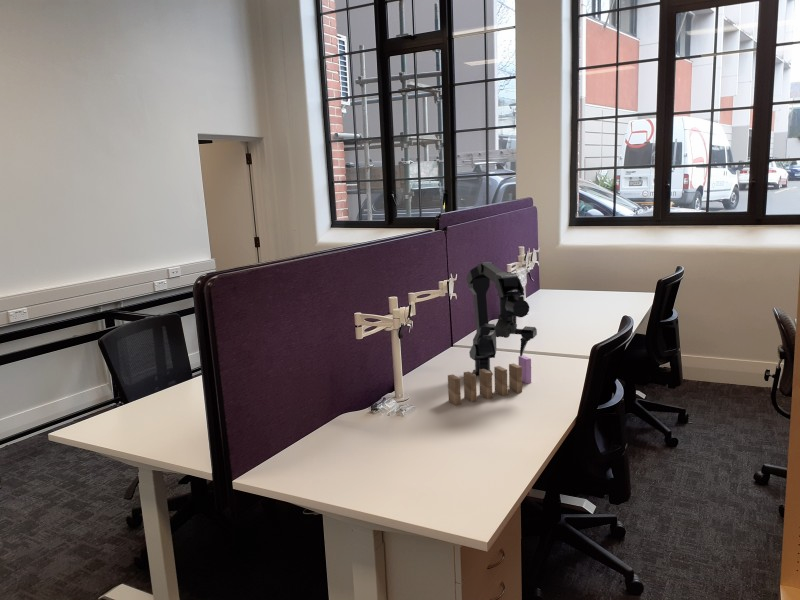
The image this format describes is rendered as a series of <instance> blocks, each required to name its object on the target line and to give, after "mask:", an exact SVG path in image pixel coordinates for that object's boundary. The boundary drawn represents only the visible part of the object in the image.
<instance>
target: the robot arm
mask: <svg viewBox="0 0 800 600" xmlns="http://www.w3.org/2000/svg"><path fill="white" fill-rule="evenodd" d="M491 281H492V282H493V283H494V288H495V289H496V290H497V292H498V293H497V296H498V297H499V298H498V305H499V306H498V309H499V310H498V312H499V313H498V317H497V322H496V324H495V323H490V322H489V310H488V300H487V293H488V291H489V289H490V287H491ZM466 282H467V284H468V289H469V290H470V292H471V293H472V295H473V304H474V305H473V307H474V315H475V316H474V317H475V330H476V333H475V335H474V337H473V338H472V346H471V347H470V350H469V358H470V359H472V360H473V361H474V369H473V370H472V372H473V374H474V375H476V377H479V370H480V369H486V370H488V371H490V372H492V370H491V359H493V358H494V359H495V358H496V354H497V338H506V339H508V338H509V337H510V336H511V335H520V336H521V338H520V347H519V348H520V350H519V356H520V357H521V356H522V355H523V354H524V352H525V350H526V347H527V344H528V341H529V342H530V341H531V340H533V339H535V338H536V336H537V335H538V329H537V328H536V327H535V326H524V327H523V328H518V324H517V317H518V318H524V317H526V316H527V315H528V313H529V311H530V306H529V305H530V304H529V303H528V302H527V301H526V300H525V299H524V298H525V297H524V296H525V292H524V291H525V290H524V286H523V284H522V282H521V279H520V277H519V276H518V275H517V274H516V273H513V272H505V271H503V270H502V269H500V267H498V266H496V265H495V264H494V263H493V262H491V261H483V262H479V263H477V265H476V266H475V267H474V268H472V269H470V270H469V272H468V273H467V275H466ZM493 373H494V372H492V376H494V375H493Z"/></svg>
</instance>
